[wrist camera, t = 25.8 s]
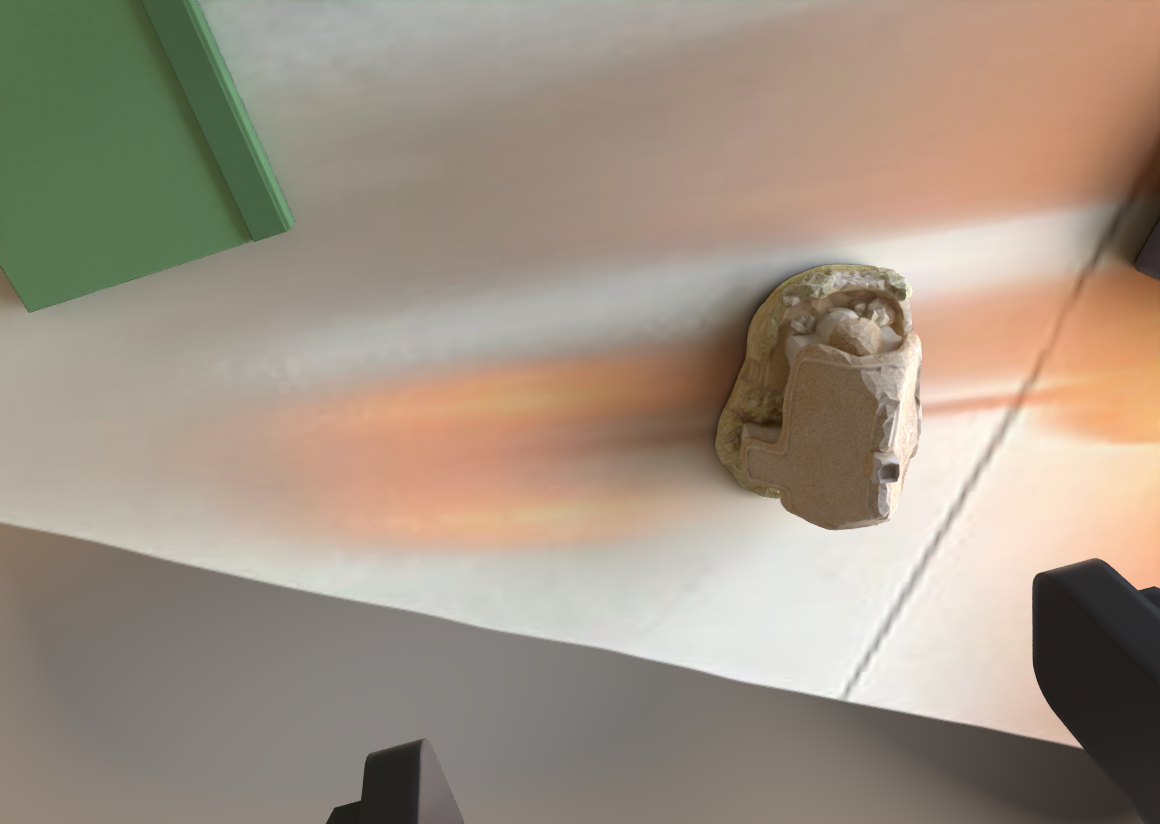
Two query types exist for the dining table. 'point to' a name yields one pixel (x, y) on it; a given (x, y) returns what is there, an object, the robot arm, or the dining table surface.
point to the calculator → (1150, 255)
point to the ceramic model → (828, 397)
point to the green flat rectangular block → (121, 147)
